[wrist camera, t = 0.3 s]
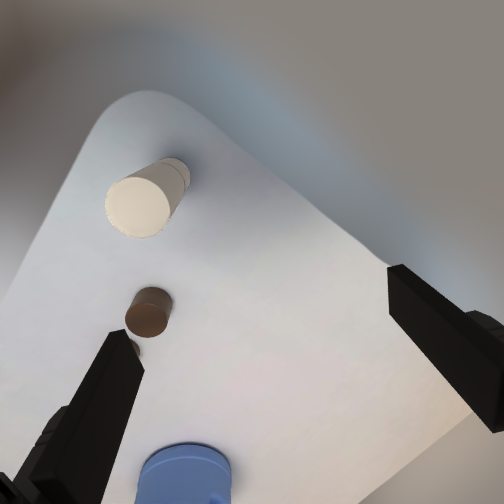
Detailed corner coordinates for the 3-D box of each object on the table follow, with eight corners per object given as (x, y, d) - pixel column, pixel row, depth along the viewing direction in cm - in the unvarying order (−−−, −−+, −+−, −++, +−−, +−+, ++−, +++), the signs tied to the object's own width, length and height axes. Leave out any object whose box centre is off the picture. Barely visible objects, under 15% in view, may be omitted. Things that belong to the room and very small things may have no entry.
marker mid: (127, 292, 39) (118, 309, 36) (164, 282, 39) (158, 298, 36) (142, 323, 41) (134, 342, 38) (177, 313, 41) (173, 331, 38)
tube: (145, 167, 34) (91, 193, 20) (179, 151, 34) (149, 166, 20) (164, 201, 36) (127, 247, 22) (197, 186, 35) (180, 223, 21)
